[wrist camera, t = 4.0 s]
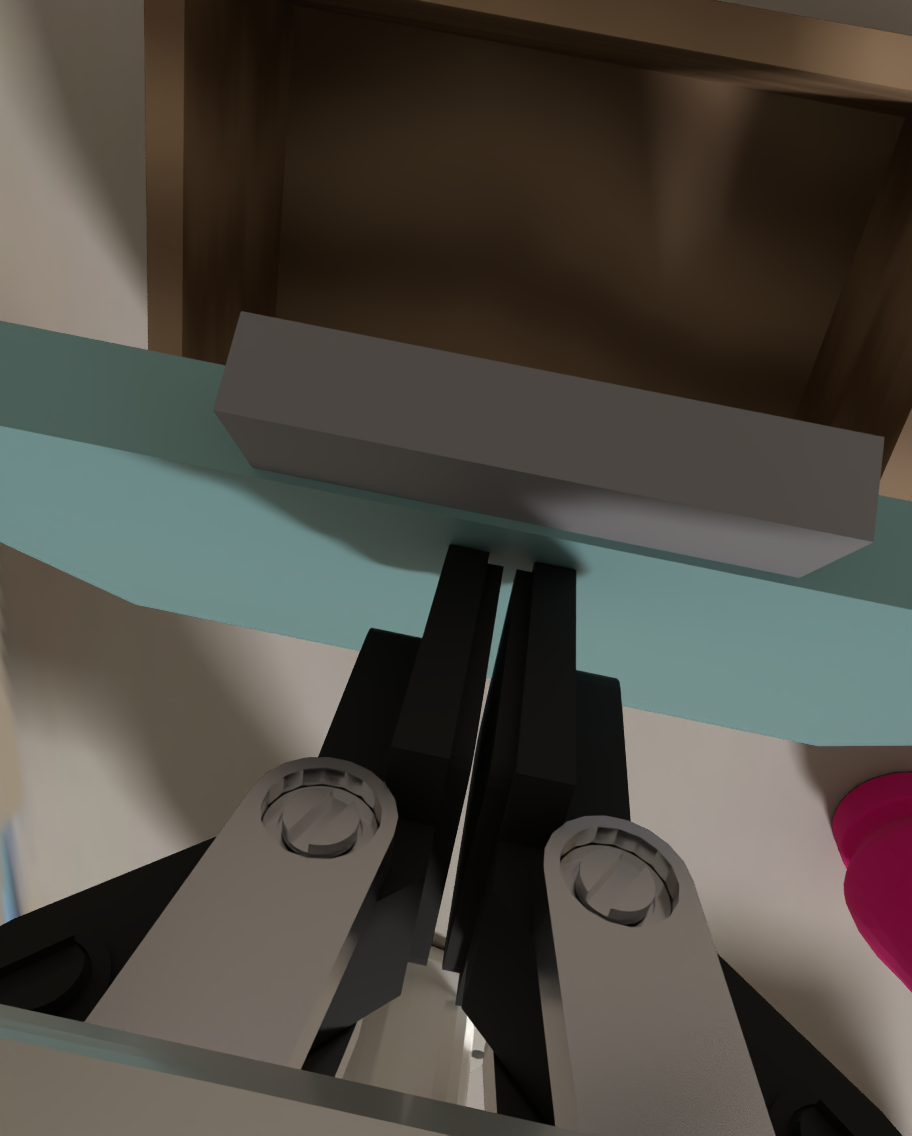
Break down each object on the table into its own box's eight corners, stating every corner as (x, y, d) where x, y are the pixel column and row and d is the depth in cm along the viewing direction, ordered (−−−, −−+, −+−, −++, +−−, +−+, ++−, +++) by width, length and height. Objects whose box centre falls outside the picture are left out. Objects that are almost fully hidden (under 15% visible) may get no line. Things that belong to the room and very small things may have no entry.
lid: (813, 708, 27) (808, 745, 27) (151, 572, 28) (141, 607, 28) (1790, 603, 7) (1809, 741, 7) (-568, 142, 8) (-626, 254, 8)
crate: (754, 570, 36) (812, 711, 27) (250, 468, 36) (150, 574, 28) (938, 89, 27) (1107, 71, 19) (275, -33, 28) (142, -104, 19)
